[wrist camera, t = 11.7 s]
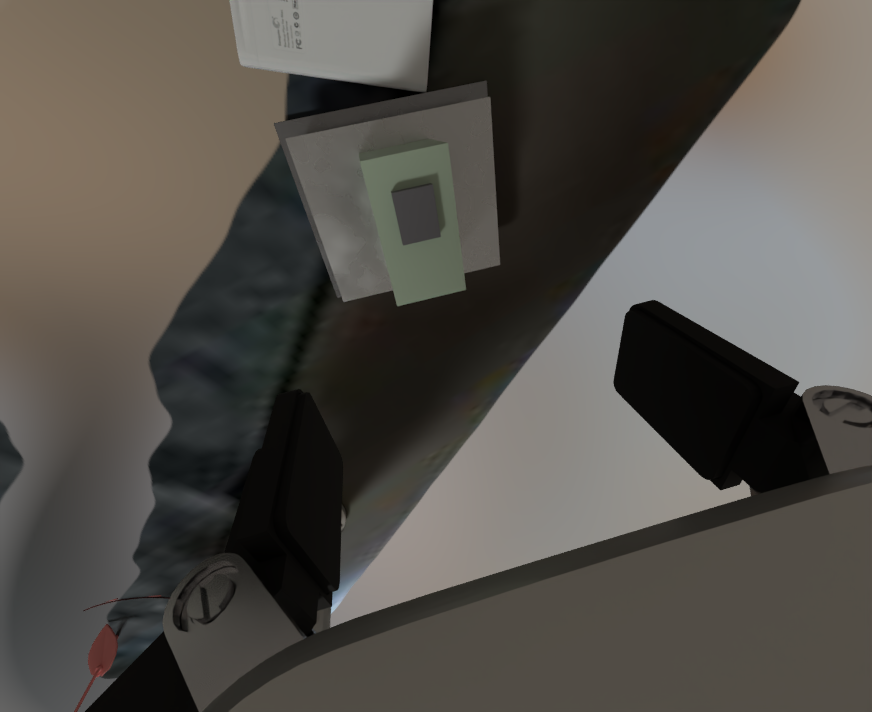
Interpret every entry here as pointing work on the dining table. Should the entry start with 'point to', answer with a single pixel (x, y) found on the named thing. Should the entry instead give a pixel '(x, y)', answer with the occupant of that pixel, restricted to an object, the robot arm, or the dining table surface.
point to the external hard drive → (338, 39)
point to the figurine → (103, 652)
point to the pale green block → (416, 218)
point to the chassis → (346, 189)
